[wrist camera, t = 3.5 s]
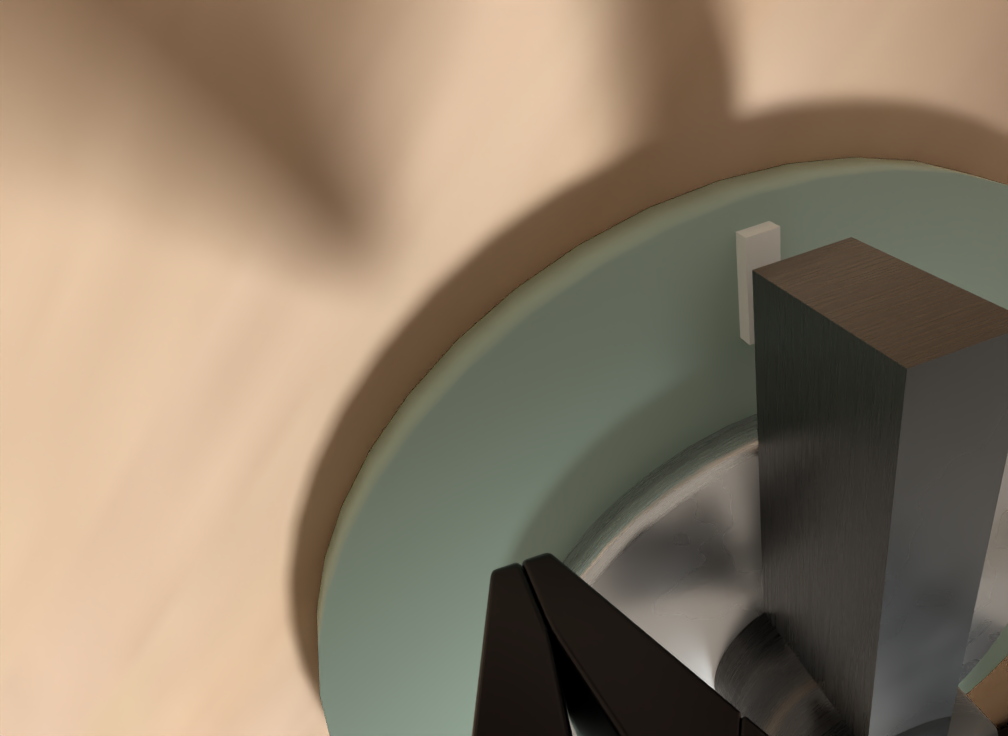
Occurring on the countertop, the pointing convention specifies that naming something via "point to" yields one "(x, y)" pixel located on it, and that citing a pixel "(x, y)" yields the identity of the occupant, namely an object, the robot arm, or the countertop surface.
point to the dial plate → (594, 412)
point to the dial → (834, 509)
